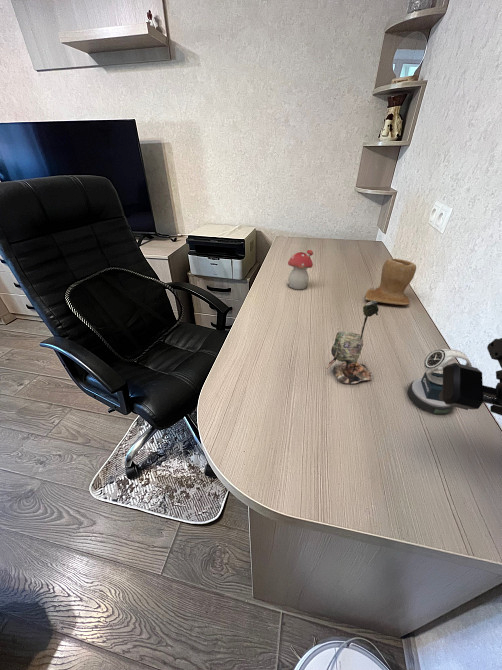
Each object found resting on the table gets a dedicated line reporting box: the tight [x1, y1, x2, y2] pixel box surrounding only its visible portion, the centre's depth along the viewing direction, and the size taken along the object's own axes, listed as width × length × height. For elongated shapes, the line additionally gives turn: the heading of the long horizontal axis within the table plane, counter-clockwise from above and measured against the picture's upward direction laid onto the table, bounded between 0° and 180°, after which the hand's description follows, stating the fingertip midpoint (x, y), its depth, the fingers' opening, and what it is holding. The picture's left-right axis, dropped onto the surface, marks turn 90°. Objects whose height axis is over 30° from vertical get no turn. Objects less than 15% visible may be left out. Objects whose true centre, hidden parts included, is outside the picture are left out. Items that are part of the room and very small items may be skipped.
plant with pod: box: [325, 300, 379, 384], centre depth 64 cm, size 8×11×20 cm
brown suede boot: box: [364, 257, 417, 306], centre depth 99 cm, size 15×12×15 cm
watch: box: [421, 348, 473, 402], centre depth 59 cm, size 6×8×11 cm
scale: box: [407, 377, 454, 416], centre depth 63 cm, size 9×9×3 cm
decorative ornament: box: [287, 249, 314, 290], centre depth 107 cm, size 9×6×15 cm
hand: (465, 402), depth 49 cm, fingers open, 9 cm apart
